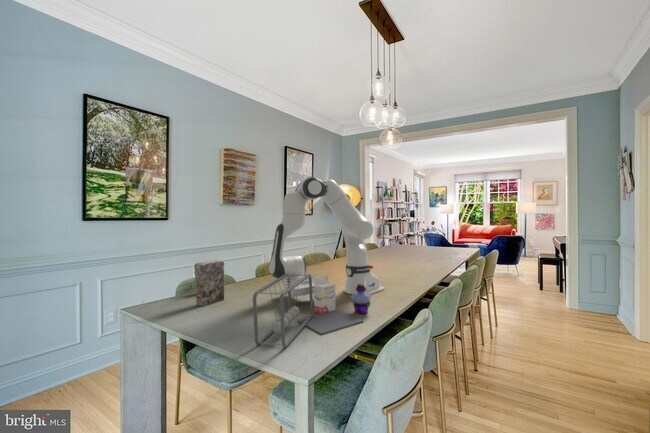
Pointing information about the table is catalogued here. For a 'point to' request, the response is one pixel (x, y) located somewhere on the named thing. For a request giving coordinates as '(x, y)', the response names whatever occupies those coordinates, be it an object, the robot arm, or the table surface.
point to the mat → (331, 322)
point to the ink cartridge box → (324, 295)
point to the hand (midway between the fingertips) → (319, 291)
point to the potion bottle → (361, 300)
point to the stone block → (209, 282)
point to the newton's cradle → (283, 309)
